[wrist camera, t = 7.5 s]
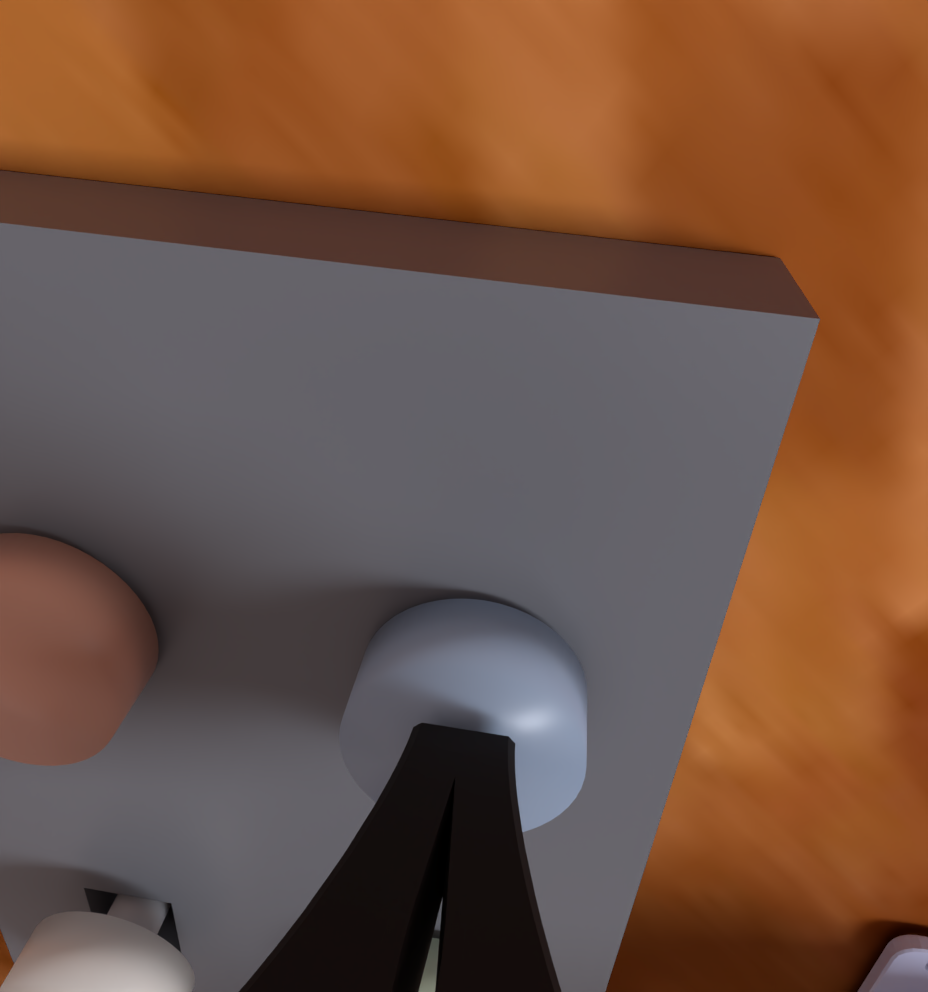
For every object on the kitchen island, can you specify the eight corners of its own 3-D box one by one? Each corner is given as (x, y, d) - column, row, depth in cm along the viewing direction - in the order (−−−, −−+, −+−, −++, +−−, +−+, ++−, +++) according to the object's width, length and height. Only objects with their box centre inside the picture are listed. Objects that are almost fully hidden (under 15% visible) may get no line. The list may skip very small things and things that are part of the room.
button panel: (779, 257, 12) (819, 318, 10) (562, 1031, 23) (559, 1135, 21) (-148, 153, 13) (-296, 187, 11) (90, 944, 25) (42, 1035, 22)
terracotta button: (201, 477, 14) (96, 609, 11) (219, 632, 16) (132, 781, 13) (5, 450, 15) (-148, 572, 12) (45, 606, 17) (-78, 746, 14)
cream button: (226, 834, 19) (154, 1000, 16) (237, 925, 21) (175, 1088, 18) (73, 808, 19) (-26, 966, 16) (99, 900, 21) (15, 1056, 18)
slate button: (604, 532, 14) (606, 687, 11) (572, 687, 16) (566, 854, 13) (393, 504, 14) (338, 646, 11) (388, 658, 16) (339, 815, 13)
